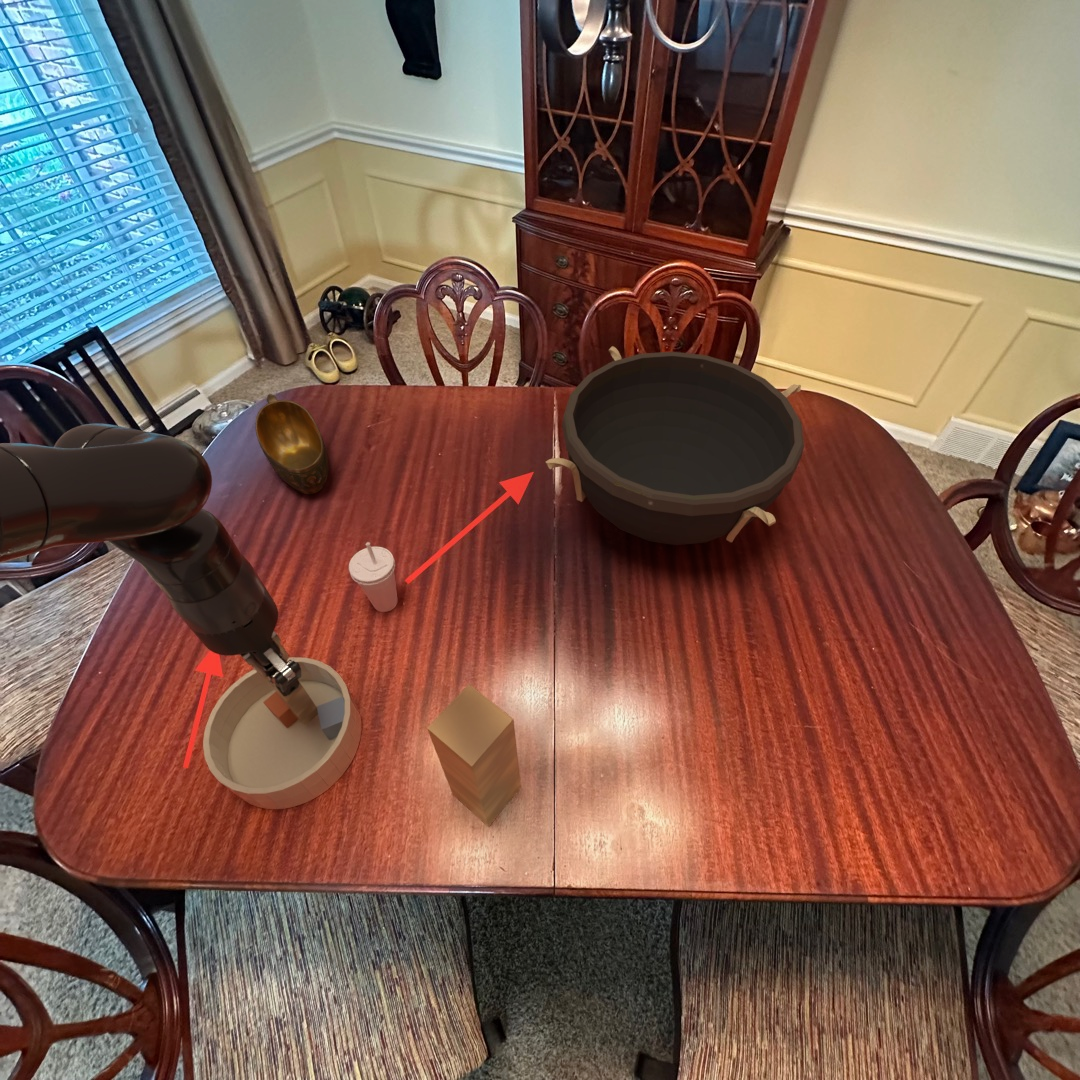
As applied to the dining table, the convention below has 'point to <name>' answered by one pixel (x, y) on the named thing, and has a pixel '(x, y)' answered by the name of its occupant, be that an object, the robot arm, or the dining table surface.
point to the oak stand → (477, 753)
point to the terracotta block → (280, 710)
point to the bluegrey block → (331, 717)
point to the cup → (292, 444)
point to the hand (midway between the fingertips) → (283, 681)
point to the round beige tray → (279, 741)
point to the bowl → (680, 445)
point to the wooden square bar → (298, 703)
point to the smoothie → (375, 576)
